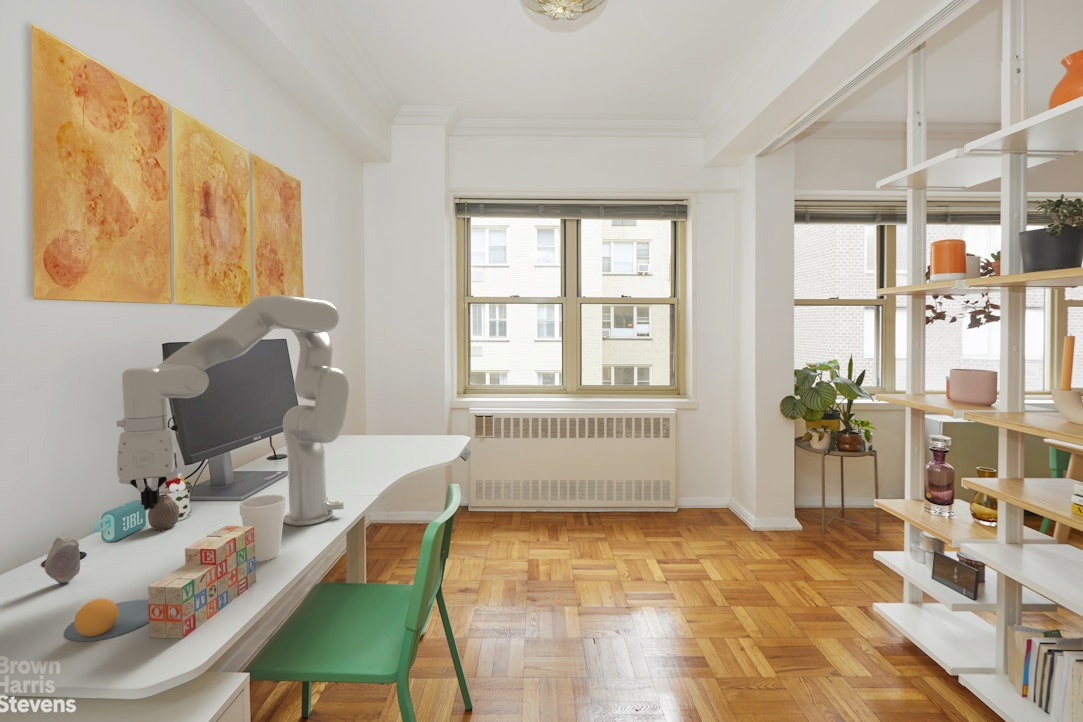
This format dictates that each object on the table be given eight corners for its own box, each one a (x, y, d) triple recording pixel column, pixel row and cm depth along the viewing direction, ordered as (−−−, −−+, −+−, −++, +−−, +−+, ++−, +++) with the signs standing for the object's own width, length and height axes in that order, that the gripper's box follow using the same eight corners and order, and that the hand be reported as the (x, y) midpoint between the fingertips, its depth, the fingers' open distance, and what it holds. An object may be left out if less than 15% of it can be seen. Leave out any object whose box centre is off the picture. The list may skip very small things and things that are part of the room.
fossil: (48, 591, 113) (45, 543, 112) (41, 587, 115) (38, 540, 114) (83, 580, 118) (80, 534, 117) (76, 576, 119) (73, 531, 119)
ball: (106, 610, 94) (110, 641, 95) (122, 589, 100) (126, 619, 101) (64, 615, 93) (69, 646, 94) (83, 593, 98) (87, 623, 99)
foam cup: (296, 550, 132) (294, 497, 132) (265, 566, 124) (262, 509, 123) (264, 545, 136) (262, 493, 135) (232, 561, 127) (230, 505, 126)
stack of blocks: (183, 640, 95) (179, 570, 94) (149, 638, 96) (145, 569, 95) (257, 582, 116) (254, 525, 116) (228, 581, 117) (226, 524, 116)
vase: (164, 533, 145) (162, 500, 144) (142, 531, 146) (140, 498, 145) (186, 523, 151) (184, 492, 151) (164, 522, 153) (163, 491, 152)
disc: (171, 595, 111) (171, 594, 110) (147, 632, 97) (147, 631, 97) (85, 608, 106) (85, 607, 106) (48, 648, 93) (48, 647, 93)
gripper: (97, 429, 114) (102, 517, 115) (181, 425, 119) (185, 508, 120) (111, 423, 121) (116, 506, 122) (190, 419, 126) (194, 498, 127)
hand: (150, 507), depth 121 cm, fingers closed
